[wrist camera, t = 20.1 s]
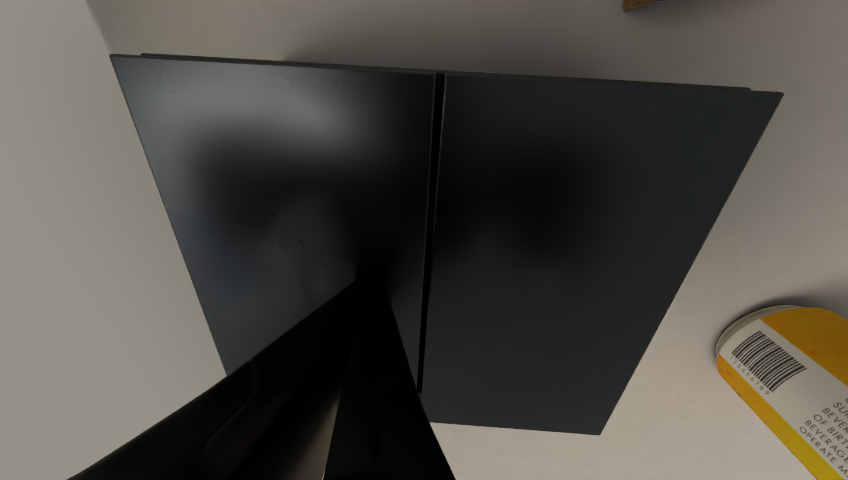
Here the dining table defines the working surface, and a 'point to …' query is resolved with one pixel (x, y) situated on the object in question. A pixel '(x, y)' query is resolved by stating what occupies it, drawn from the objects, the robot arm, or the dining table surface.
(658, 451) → the dining table surface
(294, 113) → the hatch
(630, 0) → the laundry tray
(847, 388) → the yellow labelled cylinder
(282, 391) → the robot arm
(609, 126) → the black cupboard
